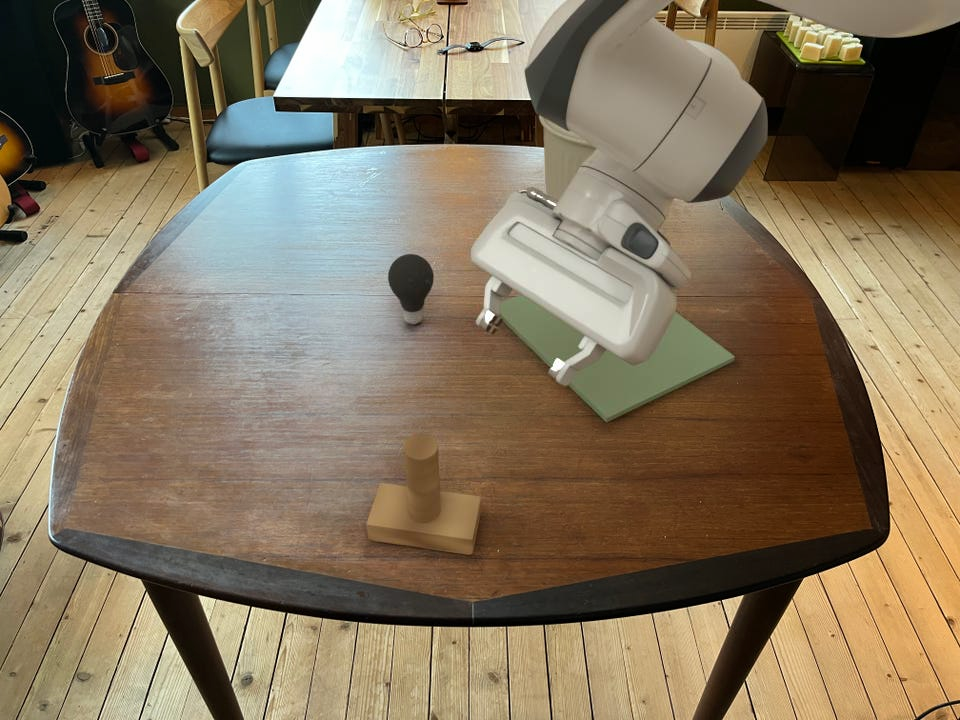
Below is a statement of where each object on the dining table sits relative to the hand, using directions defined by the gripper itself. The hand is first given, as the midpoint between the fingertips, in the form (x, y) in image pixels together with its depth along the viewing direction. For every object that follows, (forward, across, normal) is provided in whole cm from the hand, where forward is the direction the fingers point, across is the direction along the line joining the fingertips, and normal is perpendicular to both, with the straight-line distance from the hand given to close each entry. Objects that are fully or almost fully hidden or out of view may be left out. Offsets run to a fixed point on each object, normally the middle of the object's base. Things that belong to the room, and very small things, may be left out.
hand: (518, 354), depth 66 cm
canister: (-20, -29, +43) cm, 55 cm away
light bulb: (+6, -26, +16) cm, 32 cm away
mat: (-6, -8, +28) cm, 30 cm away
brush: (+19, 0, +3) cm, 20 cm away
